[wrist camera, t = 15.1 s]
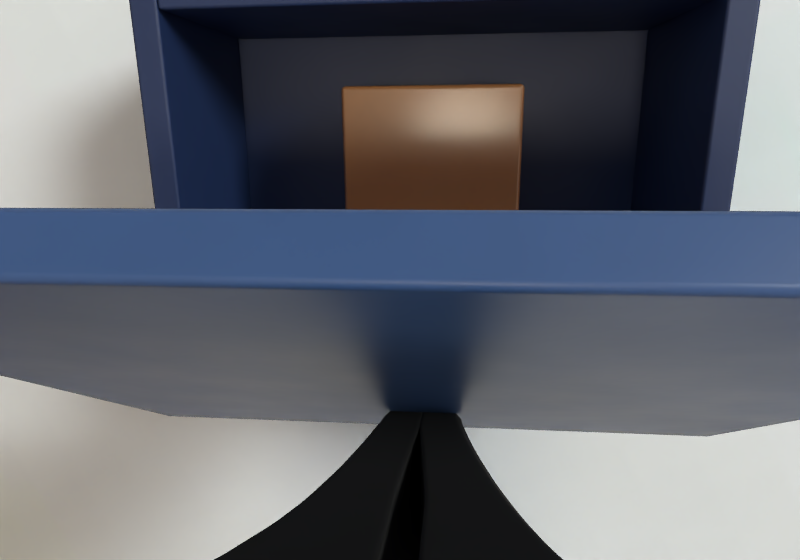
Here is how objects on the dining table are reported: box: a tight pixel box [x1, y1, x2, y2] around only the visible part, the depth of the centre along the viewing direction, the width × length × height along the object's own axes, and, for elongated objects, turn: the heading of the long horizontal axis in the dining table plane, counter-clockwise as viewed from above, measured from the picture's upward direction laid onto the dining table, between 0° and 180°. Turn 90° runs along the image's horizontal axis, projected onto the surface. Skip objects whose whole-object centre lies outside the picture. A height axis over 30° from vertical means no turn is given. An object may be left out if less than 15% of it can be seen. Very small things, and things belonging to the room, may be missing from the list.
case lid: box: [0, 208, 800, 436], centre depth 8 cm, size 10×12×1 cm
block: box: [341, 84, 525, 210], centre depth 15 cm, size 4×4×4 cm
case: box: [129, 0, 760, 211], centre depth 15 cm, size 9×12×5 cm
